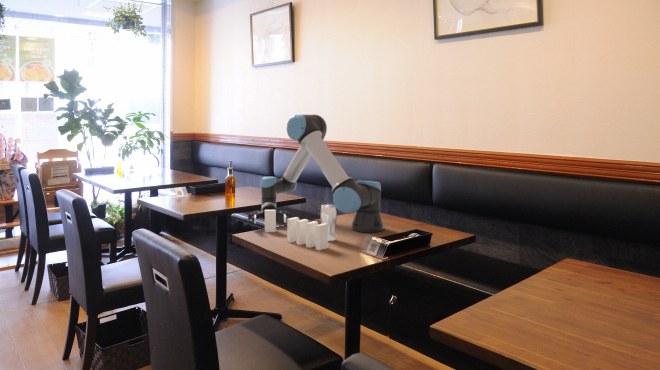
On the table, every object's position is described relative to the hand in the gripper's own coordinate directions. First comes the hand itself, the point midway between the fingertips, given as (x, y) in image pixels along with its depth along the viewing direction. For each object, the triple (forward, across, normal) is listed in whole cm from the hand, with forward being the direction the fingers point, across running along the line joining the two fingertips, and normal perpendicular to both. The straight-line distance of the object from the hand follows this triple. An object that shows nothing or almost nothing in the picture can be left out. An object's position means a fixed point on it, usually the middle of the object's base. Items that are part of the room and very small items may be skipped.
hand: (270, 220), depth 220 cm
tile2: (+15, -9, -6) cm, 19 cm away
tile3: (+19, -13, -6) cm, 24 cm away
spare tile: (-3, 0, -6) cm, 7 cm away
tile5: (+28, -20, -6) cm, 35 cm away
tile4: (+24, -16, -6) cm, 29 cm away
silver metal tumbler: (+14, -25, -6) cm, 29 cm away
